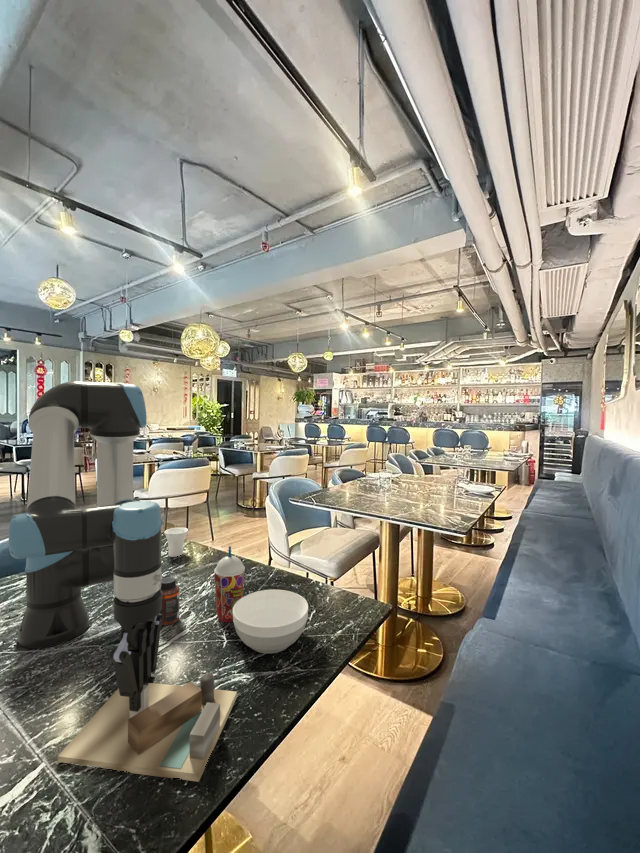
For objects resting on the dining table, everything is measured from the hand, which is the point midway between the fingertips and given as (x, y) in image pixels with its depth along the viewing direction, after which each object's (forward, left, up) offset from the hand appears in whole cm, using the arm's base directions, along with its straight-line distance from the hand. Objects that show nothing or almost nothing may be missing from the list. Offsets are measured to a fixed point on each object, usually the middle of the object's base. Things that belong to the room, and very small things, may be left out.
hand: (139, 722), depth 69 cm
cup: (-35, +82, -3) cm, 89 cm away
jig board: (+2, +2, -2) cm, 4 cm away
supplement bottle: (-14, +36, -3) cm, 39 cm away
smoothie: (+2, +40, -3) cm, 40 cm away
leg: (+5, +1, -1) cm, 5 cm away
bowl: (+16, +31, -3) cm, 35 cm away
